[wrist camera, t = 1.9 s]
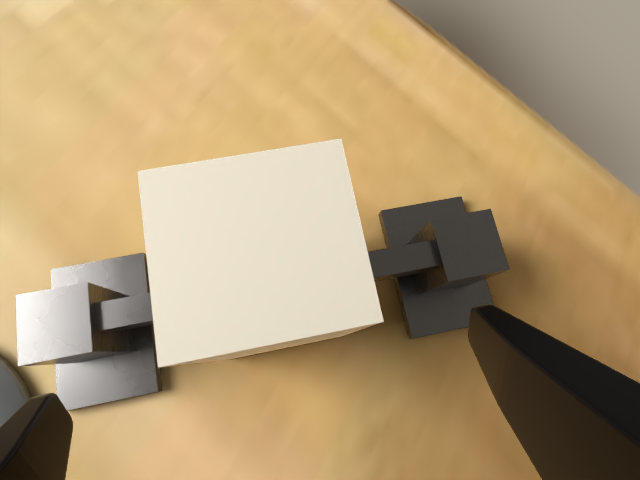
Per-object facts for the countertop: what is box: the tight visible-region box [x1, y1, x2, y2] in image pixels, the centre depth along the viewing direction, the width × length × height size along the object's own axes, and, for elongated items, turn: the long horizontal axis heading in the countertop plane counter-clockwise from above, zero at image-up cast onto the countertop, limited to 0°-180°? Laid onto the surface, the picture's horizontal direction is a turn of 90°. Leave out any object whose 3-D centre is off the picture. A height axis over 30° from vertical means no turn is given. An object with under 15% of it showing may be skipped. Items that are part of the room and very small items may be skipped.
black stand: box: [16, 197, 509, 410], centre depth 17 cm, size 6×19×4 cm, turn 102°
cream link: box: [138, 139, 384, 368], centre depth 15 cm, size 5×5×10 cm
